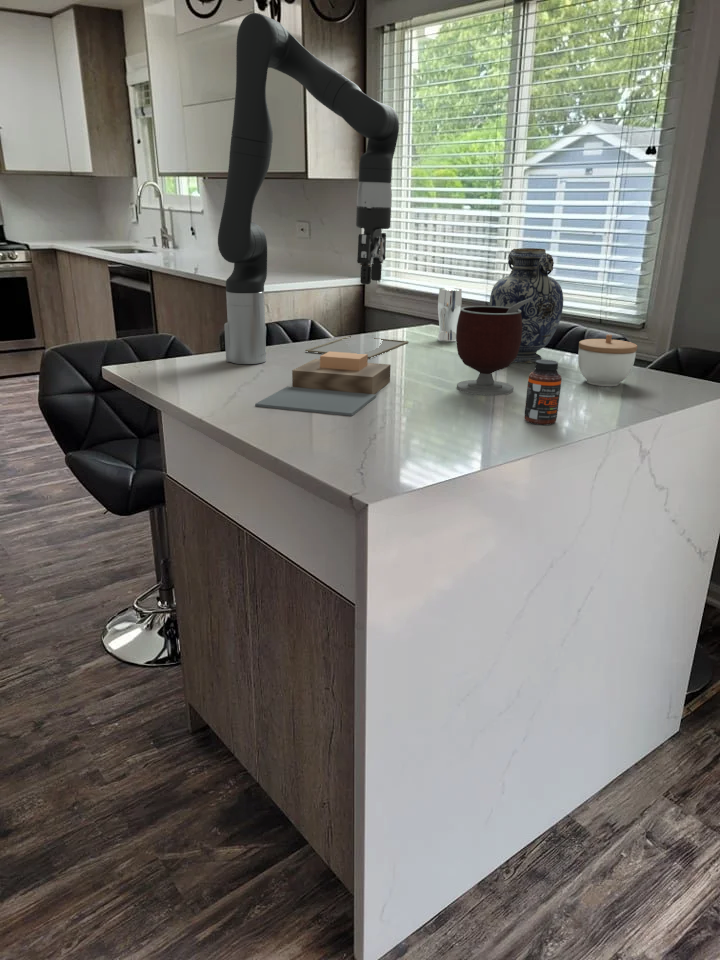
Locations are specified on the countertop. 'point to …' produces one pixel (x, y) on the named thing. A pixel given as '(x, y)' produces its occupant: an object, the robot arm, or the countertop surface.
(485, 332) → the mate gourd
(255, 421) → the countertop surface
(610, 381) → the lidded bowl
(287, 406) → the slate mat
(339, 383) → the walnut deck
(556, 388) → the supplement bottle
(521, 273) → the decorative vase
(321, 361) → the tan rectangular block
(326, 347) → the picture frame
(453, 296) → the beer glass
